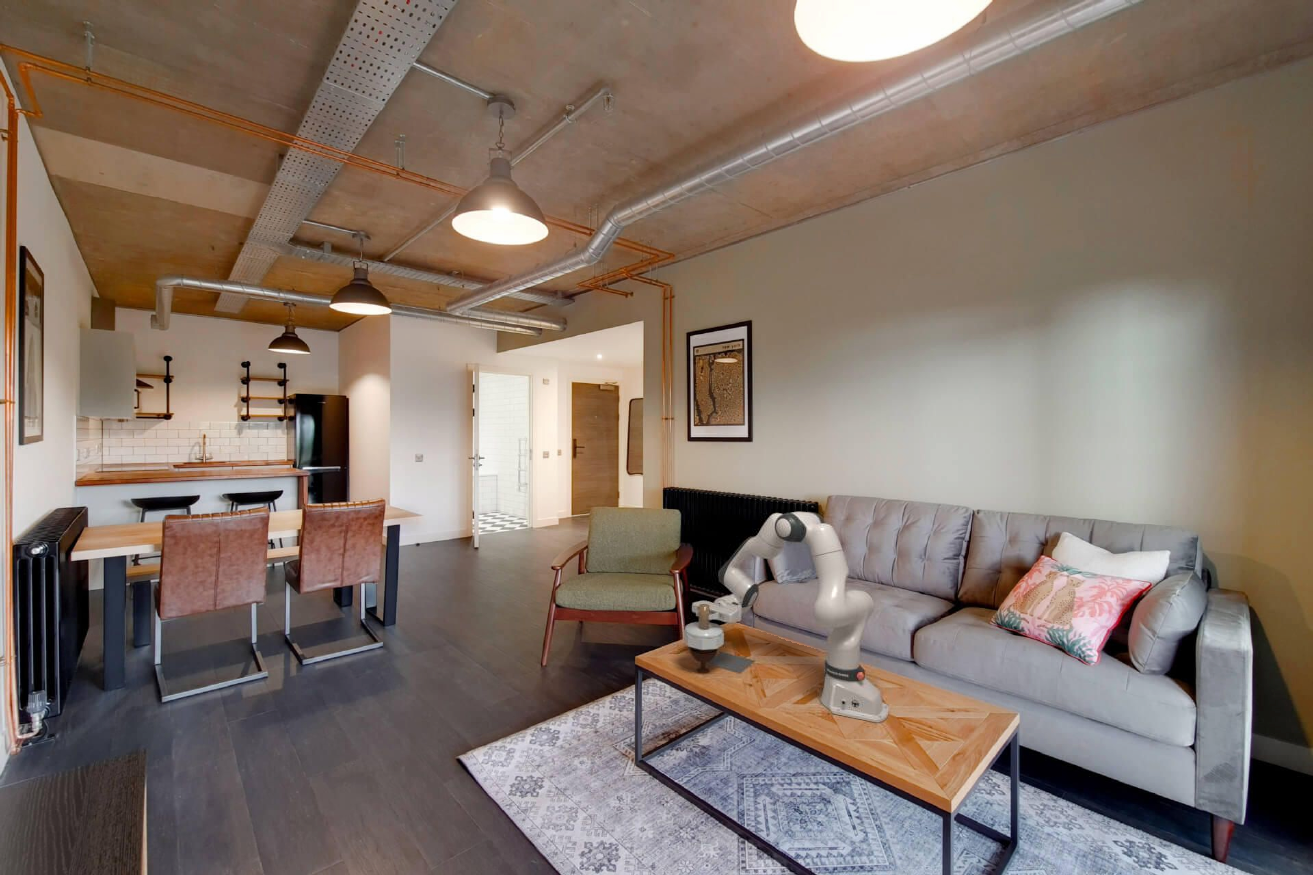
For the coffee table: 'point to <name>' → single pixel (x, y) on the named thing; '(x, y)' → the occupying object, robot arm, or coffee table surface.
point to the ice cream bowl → (703, 657)
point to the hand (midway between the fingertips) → (702, 615)
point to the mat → (730, 662)
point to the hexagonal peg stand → (703, 632)
